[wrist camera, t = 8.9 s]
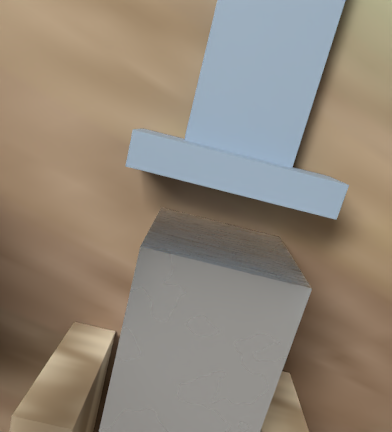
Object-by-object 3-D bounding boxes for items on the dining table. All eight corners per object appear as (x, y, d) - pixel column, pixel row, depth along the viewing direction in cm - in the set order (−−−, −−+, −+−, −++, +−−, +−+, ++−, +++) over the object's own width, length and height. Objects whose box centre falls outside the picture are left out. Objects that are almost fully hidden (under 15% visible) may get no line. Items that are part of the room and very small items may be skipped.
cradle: (136, 160, 17) (125, 166, 15) (218, -233, 14) (221, -309, 11) (318, 206, 18) (336, 219, 15) (447, -166, 14) (498, -226, 12)
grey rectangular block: (125, 359, 20) (93, 455, 15) (161, 206, 18) (140, 246, 12) (230, 384, 21) (239, 487, 15) (278, 236, 18) (311, 289, 12)
